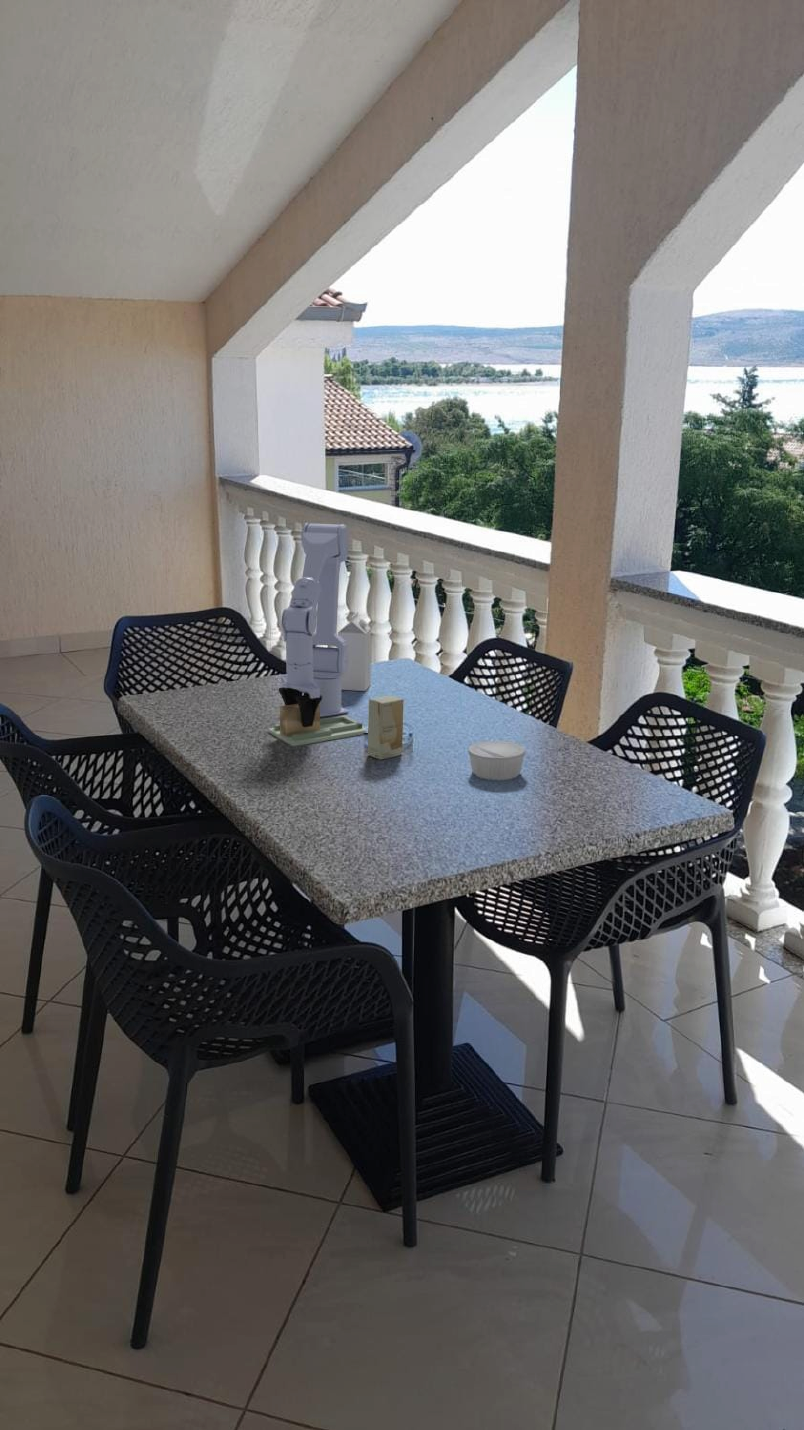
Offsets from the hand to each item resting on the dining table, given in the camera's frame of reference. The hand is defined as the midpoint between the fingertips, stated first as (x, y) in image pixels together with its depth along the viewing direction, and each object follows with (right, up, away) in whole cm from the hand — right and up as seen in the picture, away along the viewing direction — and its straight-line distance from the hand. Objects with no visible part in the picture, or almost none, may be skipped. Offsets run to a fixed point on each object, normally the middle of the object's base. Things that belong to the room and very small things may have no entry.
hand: (300, 722), depth 243 cm
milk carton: (+10, +8, +41) cm, 43 cm away
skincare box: (+19, -7, -11) cm, 23 cm away
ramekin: (+41, -10, -22) cm, 48 cm away
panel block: (0, -2, +1) cm, 2 cm away
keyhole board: (+4, -2, +3) cm, 6 cm away
